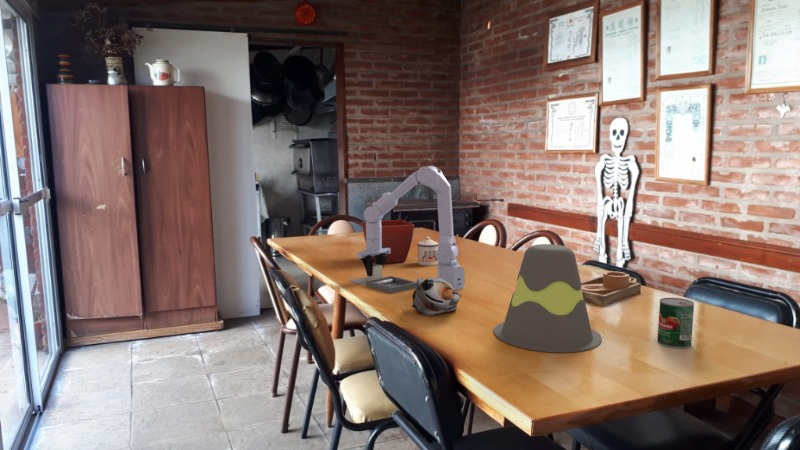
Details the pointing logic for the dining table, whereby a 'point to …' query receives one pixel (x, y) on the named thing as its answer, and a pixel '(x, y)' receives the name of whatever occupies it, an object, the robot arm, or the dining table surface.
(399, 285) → the case
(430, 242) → the teacup with lid
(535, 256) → the grey brimmed hat
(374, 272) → the block
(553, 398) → the dining table surface
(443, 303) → the grey lumpy rounded piece
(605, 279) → the brown cup and saucer
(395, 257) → the plant pot
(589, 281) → the fitting cradle
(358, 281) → the lid panel
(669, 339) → the canned tomato
